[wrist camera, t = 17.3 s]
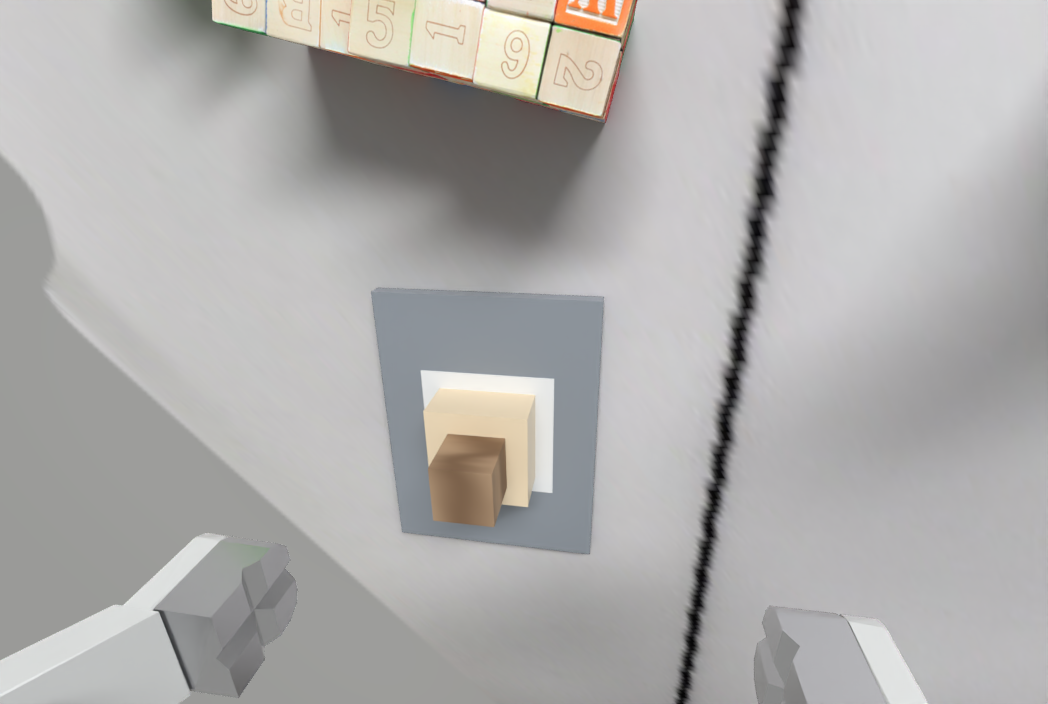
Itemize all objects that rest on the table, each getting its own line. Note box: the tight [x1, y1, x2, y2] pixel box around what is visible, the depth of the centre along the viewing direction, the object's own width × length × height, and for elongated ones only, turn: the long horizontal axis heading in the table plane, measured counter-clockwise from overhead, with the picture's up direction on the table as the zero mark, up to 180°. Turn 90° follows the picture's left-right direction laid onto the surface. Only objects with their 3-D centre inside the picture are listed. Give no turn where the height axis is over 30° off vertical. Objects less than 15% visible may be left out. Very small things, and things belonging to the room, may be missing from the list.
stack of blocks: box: [212, 0, 637, 123], centre depth 28 cm, size 21×6×12 cm, turn 77°
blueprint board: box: [371, 288, 604, 554], centre depth 42 cm, size 18×24×5 cm
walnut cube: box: [428, 434, 507, 527], centre depth 38 cm, size 4×4×4 cm
